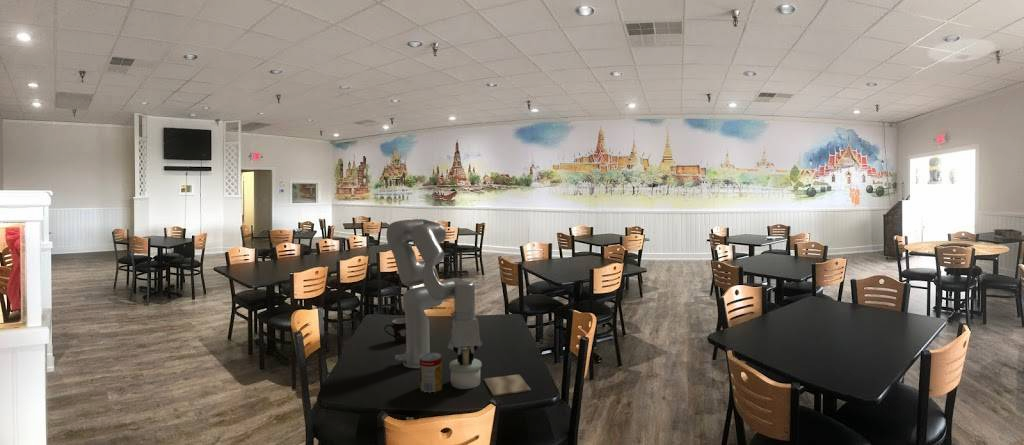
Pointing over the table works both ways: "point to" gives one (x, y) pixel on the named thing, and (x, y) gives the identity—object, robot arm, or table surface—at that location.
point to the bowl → (465, 379)
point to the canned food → (431, 372)
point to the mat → (506, 385)
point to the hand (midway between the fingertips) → (465, 362)
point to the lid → (465, 363)
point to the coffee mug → (398, 330)
